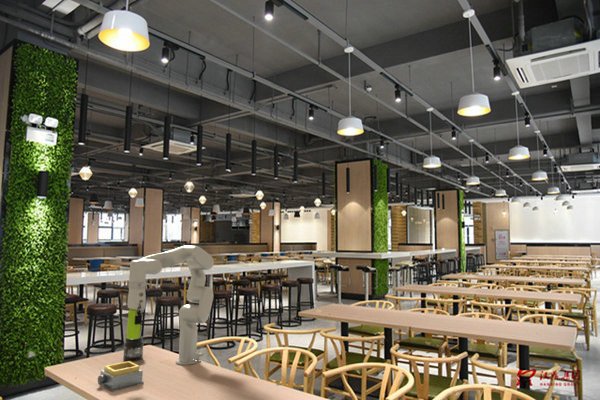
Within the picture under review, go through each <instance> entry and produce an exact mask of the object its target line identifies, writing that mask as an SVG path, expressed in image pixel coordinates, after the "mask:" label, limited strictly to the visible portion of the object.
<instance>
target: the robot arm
mask: <svg viewBox="0 0 600 400" xmlns="http://www.w3.org/2000/svg"><path fill="white" fill-rule="evenodd" d="M184 262H186V265H187V267H188V269H189V272H190V275H191V276H190V281H189V285H188V289H187V292H186V300H187V301H188V302H190V303H195V304H189V303H188V304H185V305H182V306H181V307H180V309H179V311H178V318H179V327H180V328H179V344H178V345H179V349H178V350H179V351H178V358H177V359H175V364H176V365H180V366H191V365H195V364H198V363H199V362H200V359H199V358H200V357H204V355H205V354H204V352H198V351H197V350H198V348H197V347H198V345H197V344H198V326H197V324H204V323H206V322H207V321H208V319H209V317H210V312H211V309H212V306H213V301H214V291H213V289H212V288H211V287H209V286H205V285H206V280H207V278H206V277H207V276H206V273H205V271H208V270H209V271H210V270H211V269H213V266H214V265H215V260H214V258H213V256H212V255H211V254H210V253H209V252H207V251H205V250H204V249H203V248H202V247H200V246H198V245H182V246H180V247H179V246H178V247H176V248H174V249H171V250H166V251H164V252H160V253H155V254H150V255H147V256H145V257H142V258H139V259H133V260H131V261H130V263H129V278H128V289H129V290H128V295H127V309H128V310H127V313H129V310H130V309H134V310H135V311H136V316H135V325H137V324H141V325H142V323H143V322H142V321H143V320H142V319H143V313H144V311H145V309H146V301H147V300H146V297H147V295H146V279H147V278H146V276H147V275H157V274H160V272H162V269H163V268H171V267H175V266H177V265H180V264H182V263H184ZM197 304H198V305H197ZM138 308H139V309H138ZM138 311H139V312H138ZM193 359H194V360H193ZM195 360H197V361H195Z"/></svg>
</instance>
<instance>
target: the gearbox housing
mask: <svg viewBox="0 0 600 400" xmlns="http://www.w3.org/2000/svg"><path fill="white" fill-rule="evenodd" d="M103 368H104V369H101V370H100V375H98V377H97V383H98V385H100V386H102V387H104V388H105V389H106V390H108V391H110V392H115V391H119V390H123V389H127V388H131V387H136V386H139V385H143V384H144V381H143V371H144V370H143V369H140V365H139V364H137V363H134V362H133V361H123V362H119V363H114V364H108V365H104V367H103Z"/></svg>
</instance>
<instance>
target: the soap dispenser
mask: <svg viewBox="0 0 600 400" xmlns="http://www.w3.org/2000/svg"><path fill="white" fill-rule="evenodd" d="M138 309H140V308H138ZM128 312H129V313H128ZM128 312H127V313H128V315H127V326H126V337H125V338H127V339H137V338H139V337H140V336H141V335H140V334H141V325H142V323H141V324H137V325H135V316H136V311H135V310H134V309H130V310H129V311H128ZM138 312H139V311H138Z"/></svg>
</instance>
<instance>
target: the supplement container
mask: <svg viewBox="0 0 600 400" xmlns="http://www.w3.org/2000/svg"><path fill="white" fill-rule="evenodd" d="M124 339H125V340H124V343H123V360H124V361H125V362H128V361H130V362H133V361H139V360H141V359H143V356H144V341H143V340H144V336H142V335H140V337H139V338H137V339H127V338H126V337H125V338H124Z"/></svg>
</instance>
